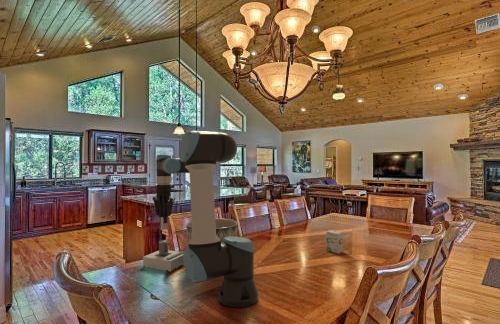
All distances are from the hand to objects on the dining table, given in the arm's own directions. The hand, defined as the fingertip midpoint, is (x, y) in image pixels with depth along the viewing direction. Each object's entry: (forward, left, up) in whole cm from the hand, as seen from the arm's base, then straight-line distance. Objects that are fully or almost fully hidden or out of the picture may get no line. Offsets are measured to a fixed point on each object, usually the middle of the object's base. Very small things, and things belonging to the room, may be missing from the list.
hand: (163, 229), depth 149 cm
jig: (0, -2, -18) cm, 18 cm away
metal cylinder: (0, 0, -18) cm, 18 cm away
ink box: (+57, -80, -18) cm, 100 cm away
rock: (+25, -3, -18) cm, 31 cm away
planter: (+7, -25, -18) cm, 32 cm away
